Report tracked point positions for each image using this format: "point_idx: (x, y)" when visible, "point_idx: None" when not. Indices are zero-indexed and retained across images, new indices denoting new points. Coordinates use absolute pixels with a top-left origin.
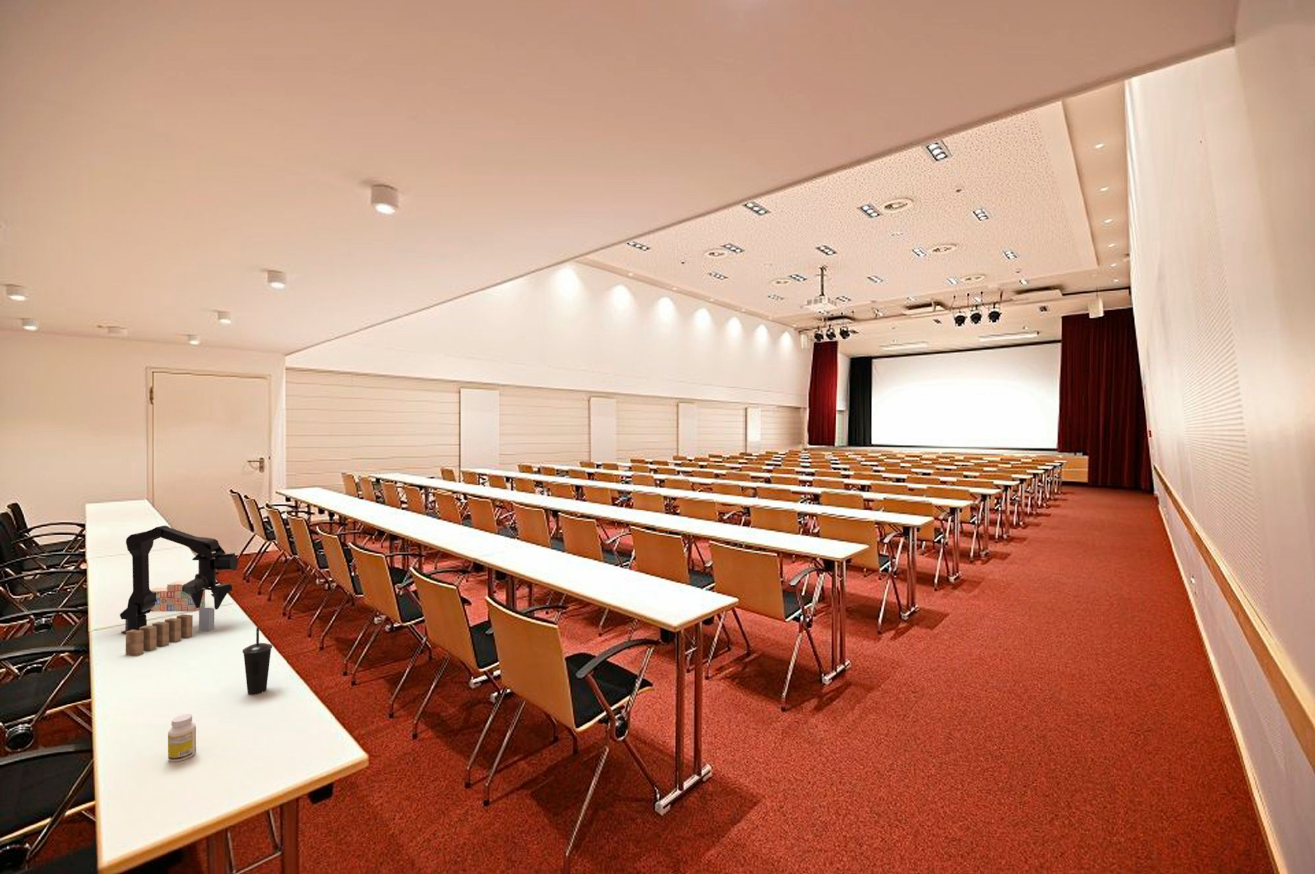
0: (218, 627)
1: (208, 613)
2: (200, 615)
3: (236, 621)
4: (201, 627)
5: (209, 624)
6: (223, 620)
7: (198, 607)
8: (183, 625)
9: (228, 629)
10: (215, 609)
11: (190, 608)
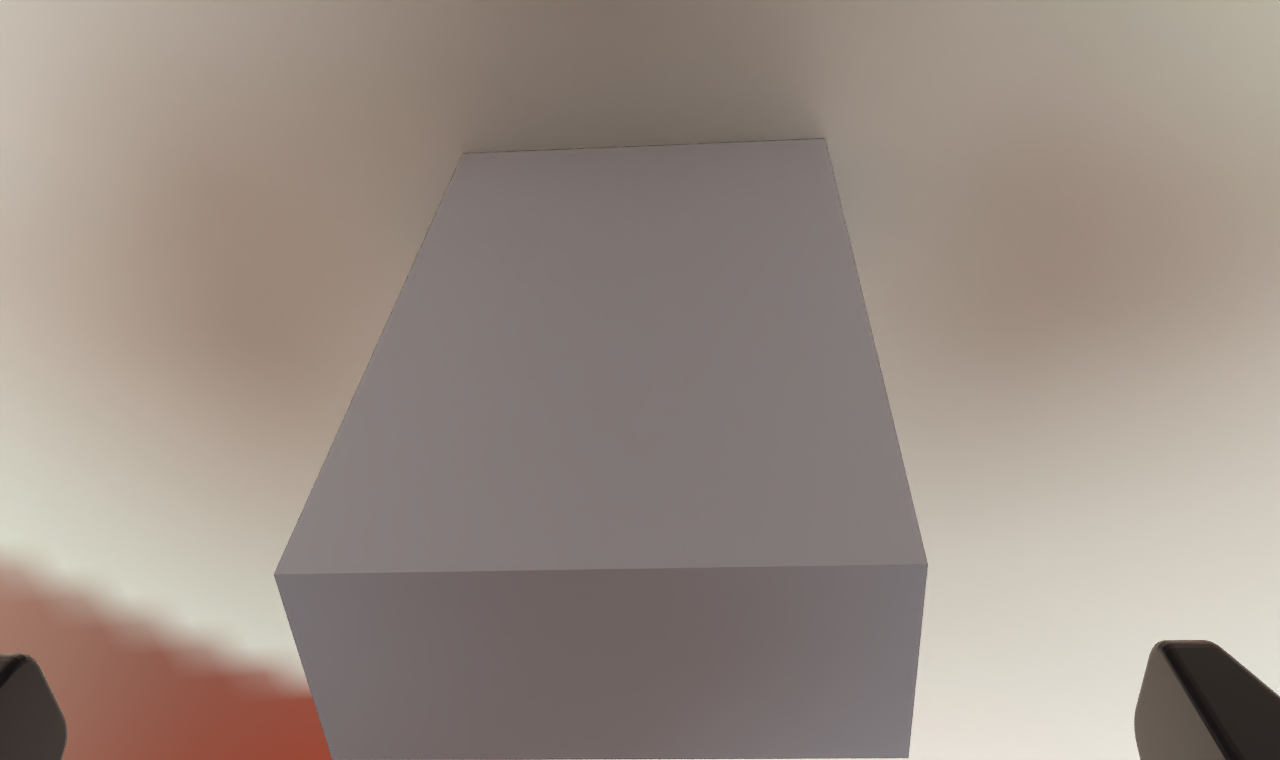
0: None
1: (366, 462)
2: (800, 378)
3: None
4: (736, 175)
5: (428, 246)
6: None
7: (1147, 697)
8: None
9: (122, 356)
10: (5, 655)
11: None
